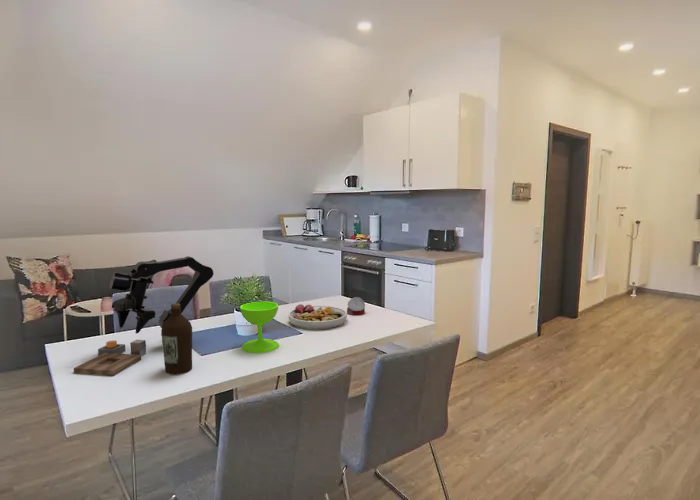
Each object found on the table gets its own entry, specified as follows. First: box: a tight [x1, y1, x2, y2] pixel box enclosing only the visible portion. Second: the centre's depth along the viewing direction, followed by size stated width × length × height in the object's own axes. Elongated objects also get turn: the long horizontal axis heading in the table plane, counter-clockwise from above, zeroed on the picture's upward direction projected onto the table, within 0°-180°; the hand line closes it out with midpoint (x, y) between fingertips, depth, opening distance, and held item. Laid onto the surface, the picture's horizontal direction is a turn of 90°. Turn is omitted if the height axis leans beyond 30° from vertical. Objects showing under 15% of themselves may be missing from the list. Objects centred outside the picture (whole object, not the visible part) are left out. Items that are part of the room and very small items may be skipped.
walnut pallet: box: [73, 353, 142, 377], centre depth 164 cm, size 16×16×2 cm
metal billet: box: [129, 339, 147, 358], centre depth 174 cm, size 4×4×6 cm
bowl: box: [288, 303, 348, 330], centre depth 222 cm, size 30×30×8 cm
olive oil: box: [160, 302, 193, 376], centre depth 159 cm, size 11×11×25 cm
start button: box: [105, 340, 118, 349], centre depth 176 cm, size 4×4×3 cm
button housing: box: [97, 343, 127, 356], centre depth 177 cm, size 7×7×3 cm
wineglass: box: [239, 300, 280, 354], centre depth 184 cm, size 16×16×18 cm
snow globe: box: [346, 296, 366, 317], centre depth 239 cm, size 11×10×10 cm
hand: (128, 330), depth 174 cm, fingers open, 9 cm apart
